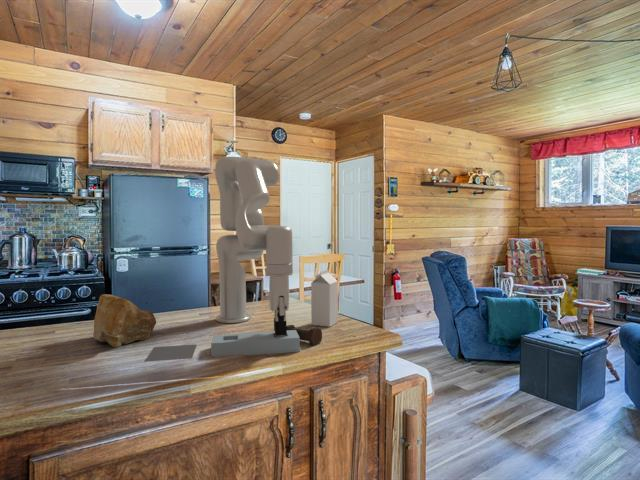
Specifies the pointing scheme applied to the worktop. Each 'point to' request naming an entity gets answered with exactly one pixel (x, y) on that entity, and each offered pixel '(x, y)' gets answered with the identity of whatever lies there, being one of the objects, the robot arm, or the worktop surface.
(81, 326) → the worktop surface
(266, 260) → the robot arm
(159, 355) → the mat
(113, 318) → the rough brown rock
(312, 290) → the milk carton
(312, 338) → the bolt
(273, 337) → the hole block
